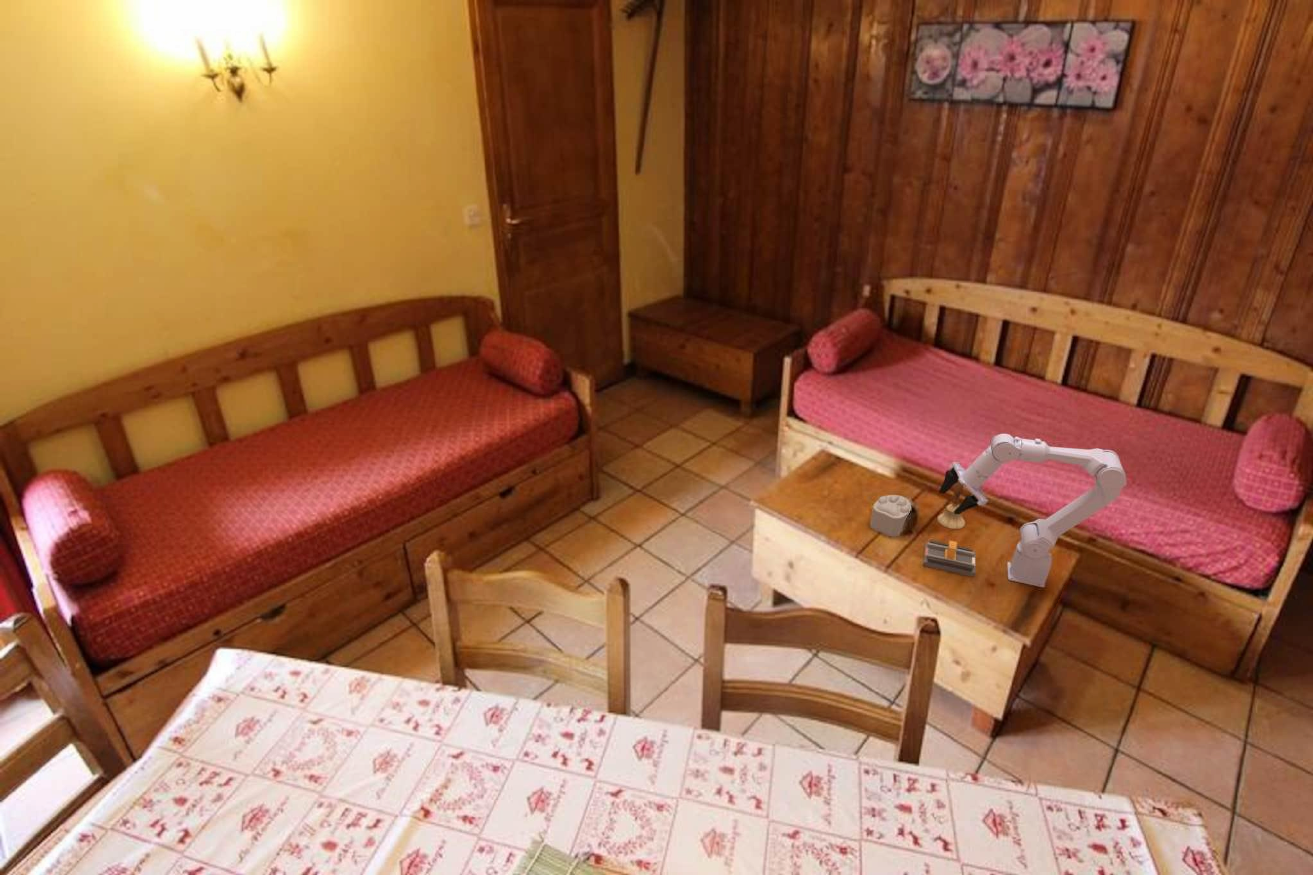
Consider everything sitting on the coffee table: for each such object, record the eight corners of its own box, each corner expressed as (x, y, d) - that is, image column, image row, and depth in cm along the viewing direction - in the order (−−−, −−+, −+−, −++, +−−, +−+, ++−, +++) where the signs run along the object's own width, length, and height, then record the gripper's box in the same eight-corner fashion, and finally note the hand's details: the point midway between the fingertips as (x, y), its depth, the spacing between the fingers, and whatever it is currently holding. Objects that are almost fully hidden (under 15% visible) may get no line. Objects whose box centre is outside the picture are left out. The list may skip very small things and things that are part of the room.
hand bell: (938, 527, 227) (948, 485, 219) (936, 512, 234) (945, 471, 226) (966, 531, 226) (977, 488, 218) (963, 515, 233) (973, 474, 225)
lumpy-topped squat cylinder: (865, 526, 228) (869, 503, 224) (884, 508, 236) (888, 486, 232) (896, 539, 222) (901, 516, 218) (914, 520, 230) (919, 498, 226)
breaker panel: (974, 556, 215) (976, 549, 213) (974, 577, 207) (976, 569, 205) (925, 545, 219) (926, 538, 218) (923, 565, 211) (924, 558, 210)
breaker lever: (955, 553, 213) (958, 541, 211) (955, 562, 210) (958, 550, 208) (944, 551, 214) (947, 539, 212) (944, 559, 211) (947, 547, 209)
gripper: (956, 450, 199) (925, 482, 207) (987, 489, 190) (954, 522, 198) (972, 452, 203) (941, 484, 211) (1004, 490, 193) (970, 523, 201)
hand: (948, 502), depth 204 cm, fingers open, 7 cm apart
